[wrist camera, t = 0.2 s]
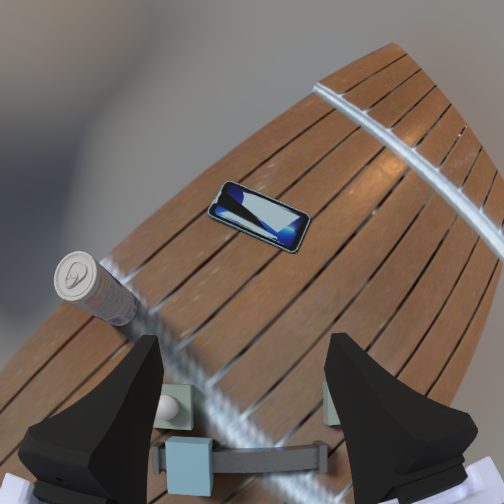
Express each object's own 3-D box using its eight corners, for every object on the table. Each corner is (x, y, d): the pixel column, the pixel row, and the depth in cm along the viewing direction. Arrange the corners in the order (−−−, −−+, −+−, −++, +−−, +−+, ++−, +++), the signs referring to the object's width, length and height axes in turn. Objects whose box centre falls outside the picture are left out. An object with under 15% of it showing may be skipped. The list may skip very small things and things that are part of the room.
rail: (320, 466, 36) (327, 472, 33) (159, 467, 35) (152, 474, 32) (320, 440, 38) (327, 445, 34) (158, 441, 37) (151, 446, 33)
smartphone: (295, 254, 48) (204, 214, 49) (294, 257, 48) (205, 217, 50) (312, 215, 50) (226, 178, 52) (311, 218, 51) (226, 181, 53)
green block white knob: (193, 427, 38) (188, 432, 34) (150, 424, 38) (140, 428, 33) (193, 384, 40) (187, 385, 36) (150, 382, 40) (140, 382, 36)
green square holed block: (364, 417, 39) (370, 419, 37) (323, 423, 39) (328, 425, 36) (362, 377, 41) (369, 377, 39) (322, 381, 41) (327, 381, 39)
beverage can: (138, 288, 45) (99, 248, 31) (138, 326, 43) (95, 300, 29) (104, 289, 44) (56, 251, 31) (102, 326, 42) (50, 301, 28)
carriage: (213, 481, 34) (210, 496, 29) (177, 479, 34) (168, 493, 29) (212, 435, 37) (208, 444, 32) (174, 433, 37) (165, 441, 31)
